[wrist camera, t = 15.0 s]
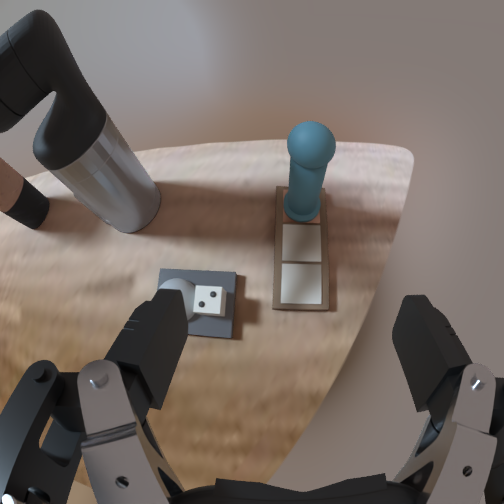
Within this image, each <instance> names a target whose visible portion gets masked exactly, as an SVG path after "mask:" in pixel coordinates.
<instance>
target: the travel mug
mask: <svg viewBox="0 0 504 504" xmlns="http://www.w3.org/2000/svg"><path fill="white" fill-rule="evenodd" d="M48 209H49V201H48V199H47V198H46V197H45V196H44V195H43V194H42V193H41V192H39V191H38V190H37V189H36V188H35V187H34V186H33V185H31V184H30V183H29V182H28V181H27V180H26V179H25V178H24V177H22V176H21V175H20V174H19V173H18V172H17V171H15V170H14V169H13V168H12V167H11V166H10V165H8V164H7V163H6V162H5V161H4V160H3V159H2V158H0V211H1V212H3V213H5V214H6V215H8V216H10V217H11V218H13V219H15V220H16V221H18V222H20V223H22V224H23V225H25V226H27V227H29V228H31V229H35V228H37V227H38V226H40V225H41V223H42V222H43V221H44V219H45V217H46V215H47V213H48Z"/></svg>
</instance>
